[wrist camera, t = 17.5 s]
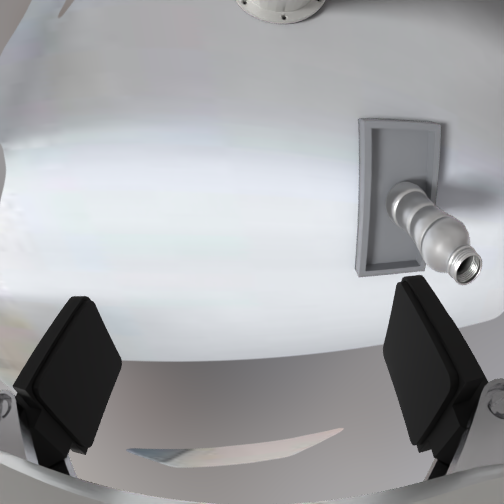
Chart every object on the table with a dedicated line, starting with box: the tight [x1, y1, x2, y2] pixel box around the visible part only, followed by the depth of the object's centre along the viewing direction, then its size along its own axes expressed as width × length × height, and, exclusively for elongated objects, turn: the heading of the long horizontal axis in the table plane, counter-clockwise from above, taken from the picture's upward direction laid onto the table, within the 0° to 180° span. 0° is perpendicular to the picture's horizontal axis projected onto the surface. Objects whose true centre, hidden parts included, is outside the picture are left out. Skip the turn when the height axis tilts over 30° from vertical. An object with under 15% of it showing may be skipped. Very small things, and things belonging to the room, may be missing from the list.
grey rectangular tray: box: [355, 119, 441, 277], centre depth 43 cm, size 24×12×3 cm, turn 6°
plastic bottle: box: [386, 182, 482, 285], centre depth 35 cm, size 6×7×20 cm
